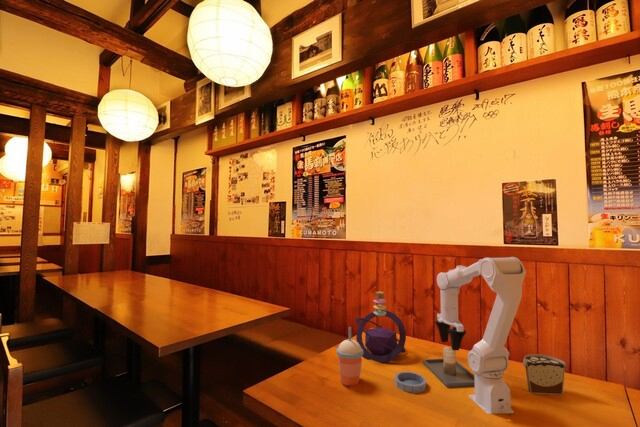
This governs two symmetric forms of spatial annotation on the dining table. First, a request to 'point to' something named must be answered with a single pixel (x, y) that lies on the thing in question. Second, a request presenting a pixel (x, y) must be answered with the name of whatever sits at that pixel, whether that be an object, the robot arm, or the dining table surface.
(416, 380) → the grey round dish
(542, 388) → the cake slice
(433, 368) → the tray
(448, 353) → the dowel pin
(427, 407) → the dining table surface
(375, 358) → the decorative bottle
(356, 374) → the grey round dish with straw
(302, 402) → the dining table surface
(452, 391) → the dining table surface
